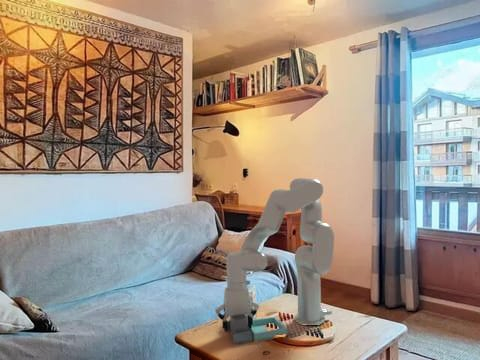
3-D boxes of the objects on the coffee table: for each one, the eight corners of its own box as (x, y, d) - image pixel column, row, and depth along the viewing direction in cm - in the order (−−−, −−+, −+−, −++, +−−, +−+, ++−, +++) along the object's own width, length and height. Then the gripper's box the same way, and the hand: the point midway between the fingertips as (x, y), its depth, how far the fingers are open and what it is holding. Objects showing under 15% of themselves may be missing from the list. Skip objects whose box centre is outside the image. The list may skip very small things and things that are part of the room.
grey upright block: (242, 331, 156) (241, 311, 156) (247, 339, 148) (247, 319, 148) (230, 332, 155) (229, 312, 155) (234, 341, 147) (234, 320, 147)
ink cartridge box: (245, 316, 171) (244, 282, 170) (256, 316, 170) (256, 283, 169) (241, 324, 163) (240, 289, 162) (253, 324, 162) (252, 289, 161)
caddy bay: (243, 328, 159) (243, 318, 158) (251, 341, 147) (251, 331, 146) (226, 330, 157) (226, 320, 157) (233, 344, 145) (233, 333, 145)
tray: (275, 323, 162) (275, 316, 162) (287, 336, 150) (287, 329, 150) (245, 327, 159) (245, 320, 159) (254, 341, 147) (254, 333, 146)
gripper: (255, 280, 156) (256, 322, 157) (212, 284, 152) (213, 327, 153) (261, 285, 149) (261, 329, 150) (216, 290, 145) (217, 335, 146)
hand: (237, 328), depth 151 cm, fingers open, 9 cm apart
